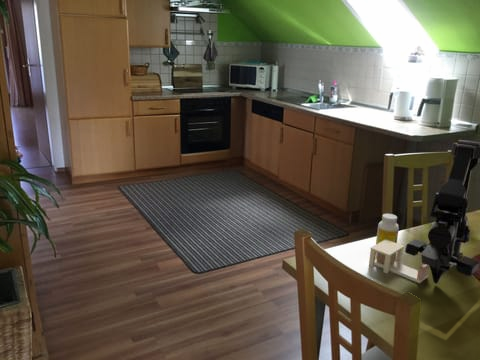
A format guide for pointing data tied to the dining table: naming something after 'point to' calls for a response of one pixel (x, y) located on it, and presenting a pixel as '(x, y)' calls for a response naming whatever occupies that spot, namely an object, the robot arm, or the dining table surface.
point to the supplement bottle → (387, 229)
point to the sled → (403, 268)
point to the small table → (386, 253)
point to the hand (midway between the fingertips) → (436, 282)
